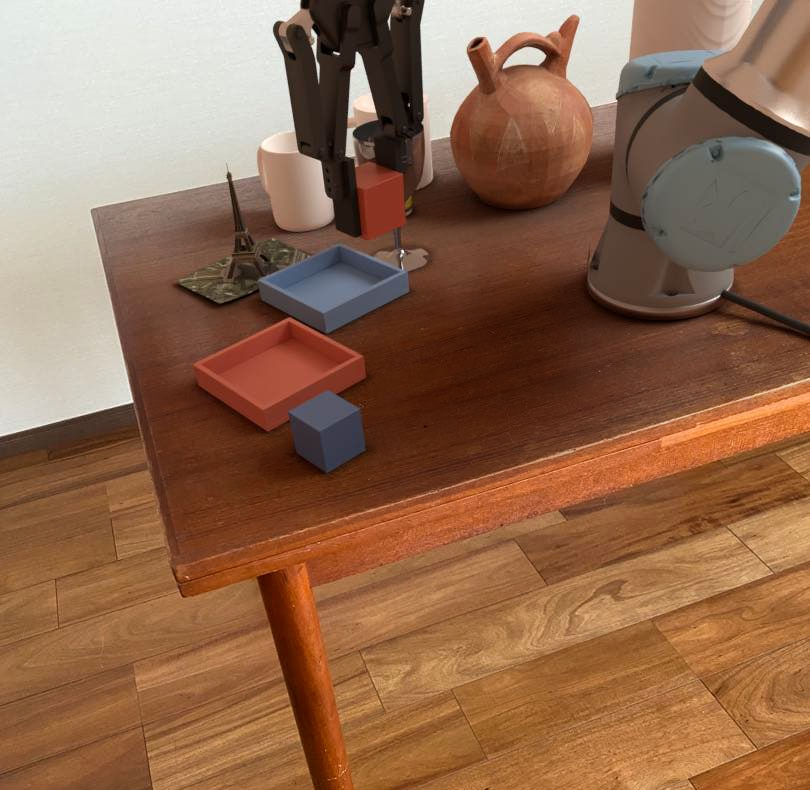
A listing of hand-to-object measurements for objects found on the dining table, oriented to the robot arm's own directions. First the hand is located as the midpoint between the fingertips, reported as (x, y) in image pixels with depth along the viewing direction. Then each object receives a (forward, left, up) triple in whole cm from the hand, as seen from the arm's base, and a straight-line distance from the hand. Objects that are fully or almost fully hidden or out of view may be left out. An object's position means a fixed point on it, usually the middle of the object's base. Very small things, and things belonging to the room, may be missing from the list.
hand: (371, 222), depth 79 cm
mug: (+37, -33, -15) cm, 52 cm away
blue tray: (+16, -6, -15) cm, 23 cm away
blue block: (-7, +13, -15) cm, 21 cm away
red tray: (+6, +9, -15) cm, 19 cm away
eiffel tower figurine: (+29, -3, -15) cm, 33 cm away
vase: (+9, -61, -15) cm, 64 cm away
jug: (+19, -41, -15) cm, 48 cm away
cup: (+38, -17, -15) cm, 45 cm away
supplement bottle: (+28, -26, -15) cm, 42 cm away
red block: (0, 0, 0) cm, 0 cm away
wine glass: (+17, -17, -15) cm, 29 cm away
